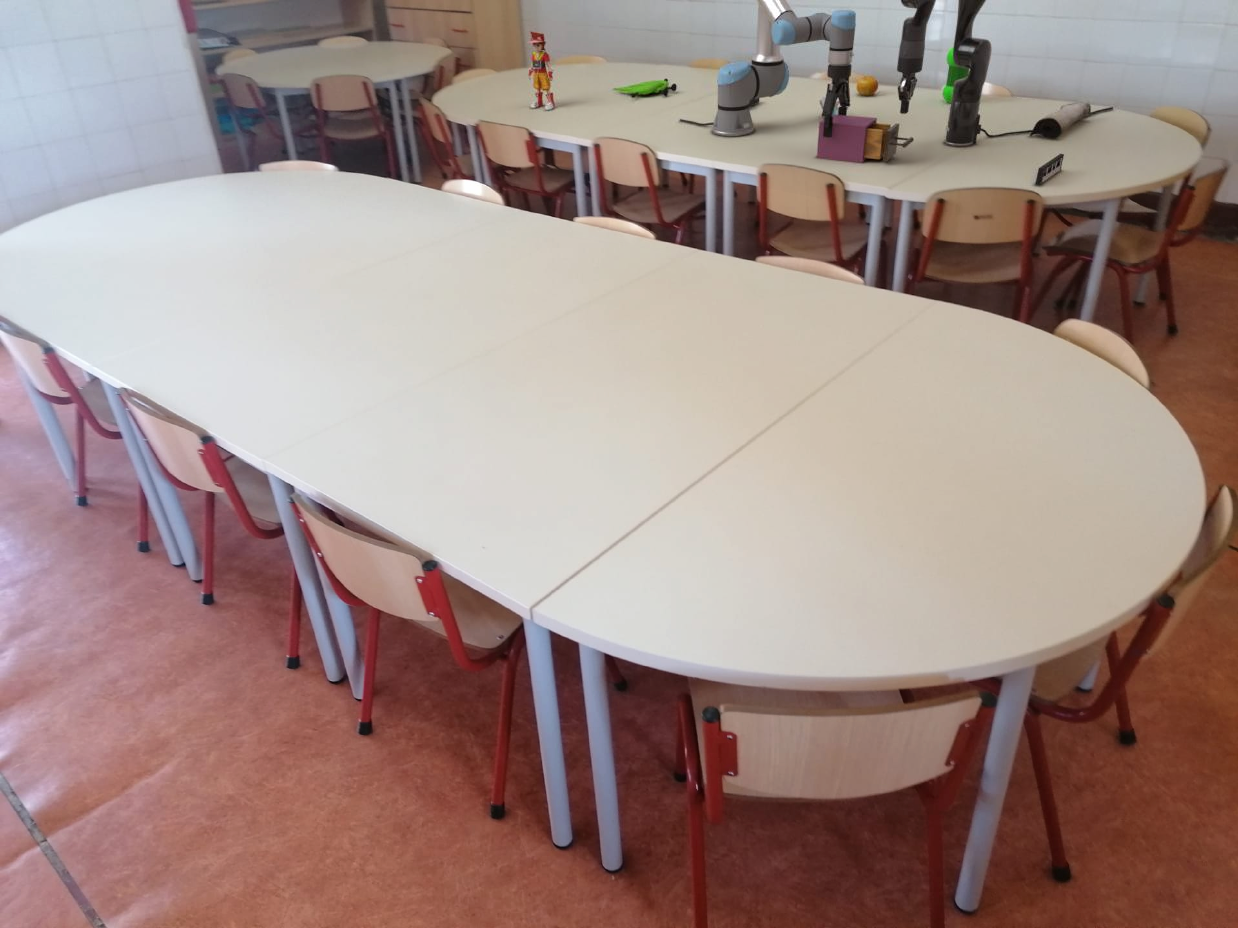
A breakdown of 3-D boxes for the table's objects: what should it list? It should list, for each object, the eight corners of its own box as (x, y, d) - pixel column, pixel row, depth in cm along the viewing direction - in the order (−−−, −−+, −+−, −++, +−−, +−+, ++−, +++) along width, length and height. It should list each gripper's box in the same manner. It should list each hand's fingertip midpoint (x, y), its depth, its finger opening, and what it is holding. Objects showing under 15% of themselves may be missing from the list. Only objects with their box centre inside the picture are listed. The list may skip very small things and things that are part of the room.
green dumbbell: (973, 101, 354) (984, 32, 339) (955, 106, 349) (966, 36, 335) (952, 97, 361) (962, 29, 346) (934, 102, 356) (944, 33, 342)
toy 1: (525, 109, 381) (517, 32, 364) (534, 104, 388) (527, 28, 371) (550, 110, 377) (543, 32, 360) (559, 105, 384) (553, 28, 367)
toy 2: (686, 85, 398) (631, 84, 414) (685, 72, 395) (629, 72, 411) (651, 104, 381) (596, 103, 397) (650, 92, 378) (594, 91, 394)
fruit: (851, 87, 368) (863, 69, 365) (853, 91, 376) (865, 73, 373) (868, 99, 367) (880, 81, 364) (870, 102, 374) (882, 84, 371)
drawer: (912, 155, 297) (916, 125, 292) (903, 164, 291) (907, 133, 285) (853, 149, 307) (856, 119, 301) (843, 157, 300) (846, 127, 294)
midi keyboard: (1039, 185, 269) (1043, 168, 266) (1035, 184, 270) (1038, 168, 267) (1060, 170, 279) (1064, 154, 277) (1056, 169, 280) (1060, 153, 277)
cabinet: (873, 154, 304) (877, 118, 298) (862, 162, 297) (865, 126, 290) (828, 149, 312) (831, 114, 305) (816, 157, 304) (819, 122, 298)
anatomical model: (814, 91, 345) (840, 84, 344) (817, 118, 351) (843, 112, 350) (825, 101, 333) (851, 93, 332) (828, 129, 339) (854, 122, 338)
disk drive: (744, 111, 360) (759, 102, 370) (744, 104, 358) (760, 95, 368) (721, 109, 365) (737, 100, 375) (721, 102, 363) (737, 93, 373)
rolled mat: (1058, 107, 328) (1083, 90, 320) (1071, 128, 329) (1097, 111, 320) (1025, 130, 311) (1051, 112, 303) (1040, 152, 311) (1065, 134, 303)
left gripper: (837, 72, 280) (831, 142, 292) (864, 57, 297) (857, 124, 309) (814, 71, 283) (810, 140, 295) (842, 55, 300) (836, 122, 312)
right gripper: (917, 60, 271) (909, 119, 281) (929, 51, 280) (921, 109, 290) (892, 58, 275) (885, 117, 285) (905, 50, 284) (898, 107, 294)
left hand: (834, 132), depth 302 cm, fingers open, 12 cm apart
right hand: (903, 113), depth 287 cm, fingers closed
